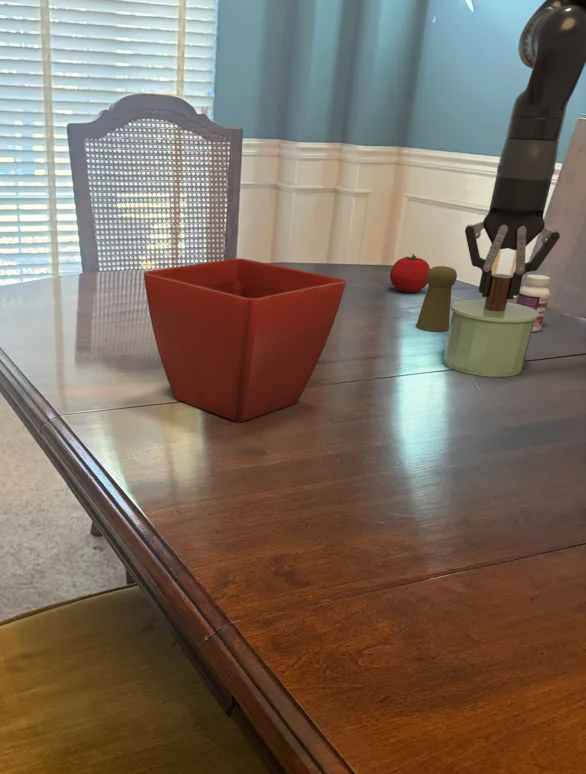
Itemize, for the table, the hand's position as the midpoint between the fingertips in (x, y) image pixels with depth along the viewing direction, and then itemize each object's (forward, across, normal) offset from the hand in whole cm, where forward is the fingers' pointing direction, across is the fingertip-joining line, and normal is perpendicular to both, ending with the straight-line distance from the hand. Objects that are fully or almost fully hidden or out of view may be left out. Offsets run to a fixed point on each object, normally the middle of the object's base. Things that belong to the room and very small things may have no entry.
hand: (497, 296), depth 119 cm
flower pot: (+11, +32, +33) cm, 47 cm away
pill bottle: (+11, -7, -29) cm, 32 cm away
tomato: (+11, +17, -54) cm, 57 cm away
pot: (+11, 0, 0) cm, 11 cm away
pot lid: (+2, 0, 0) cm, 2 cm away
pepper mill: (+11, +9, -22) cm, 26 cm away
